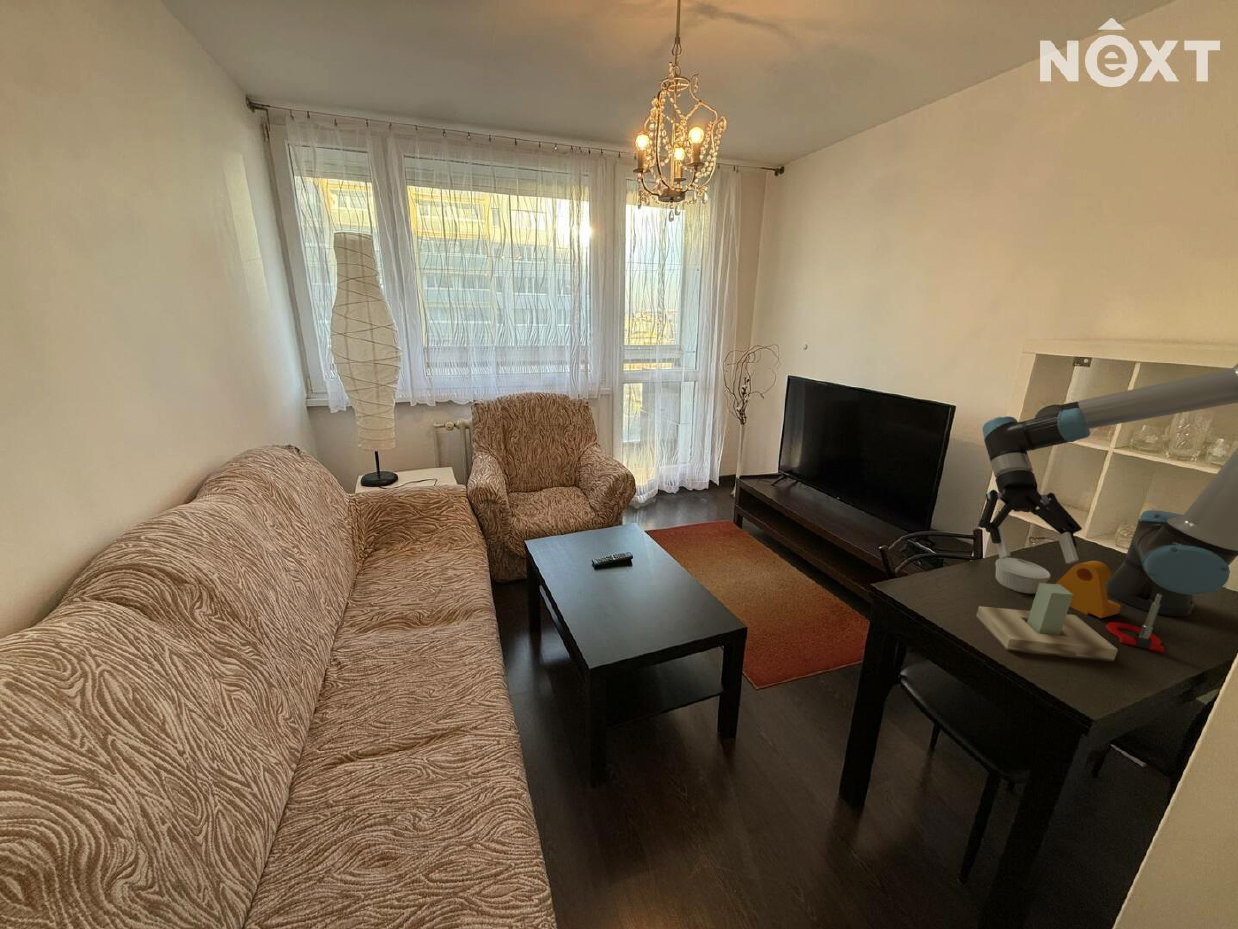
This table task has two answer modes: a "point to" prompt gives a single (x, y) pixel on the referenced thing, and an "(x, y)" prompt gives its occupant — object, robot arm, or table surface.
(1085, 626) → the block with square hole
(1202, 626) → the table surface
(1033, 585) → the ramekin
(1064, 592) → the peg
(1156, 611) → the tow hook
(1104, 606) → the bracket
